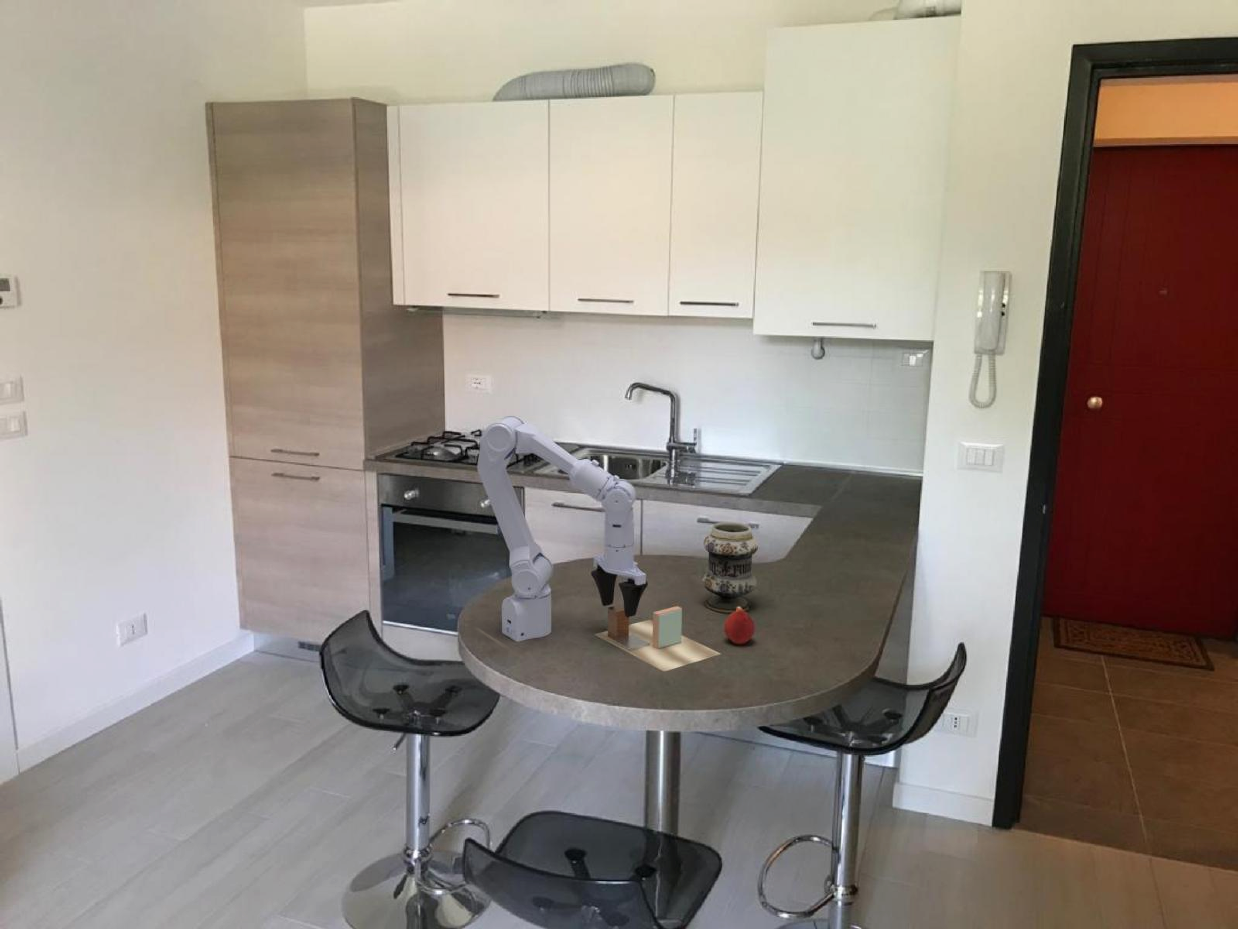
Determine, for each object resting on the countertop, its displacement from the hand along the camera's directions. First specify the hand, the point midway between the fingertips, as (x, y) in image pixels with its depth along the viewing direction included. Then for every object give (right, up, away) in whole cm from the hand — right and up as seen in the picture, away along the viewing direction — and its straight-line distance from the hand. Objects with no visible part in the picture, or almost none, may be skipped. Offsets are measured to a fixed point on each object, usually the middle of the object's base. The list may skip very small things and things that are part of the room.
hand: (618, 610), depth 184 cm
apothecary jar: (+24, -3, +22) cm, 33 cm away
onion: (+24, -7, 0) cm, 25 cm away
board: (+7, -7, -2) cm, 10 cm away
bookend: (+2, -6, -1) cm, 6 cm away
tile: (+9, -6, -2) cm, 11 cm away
